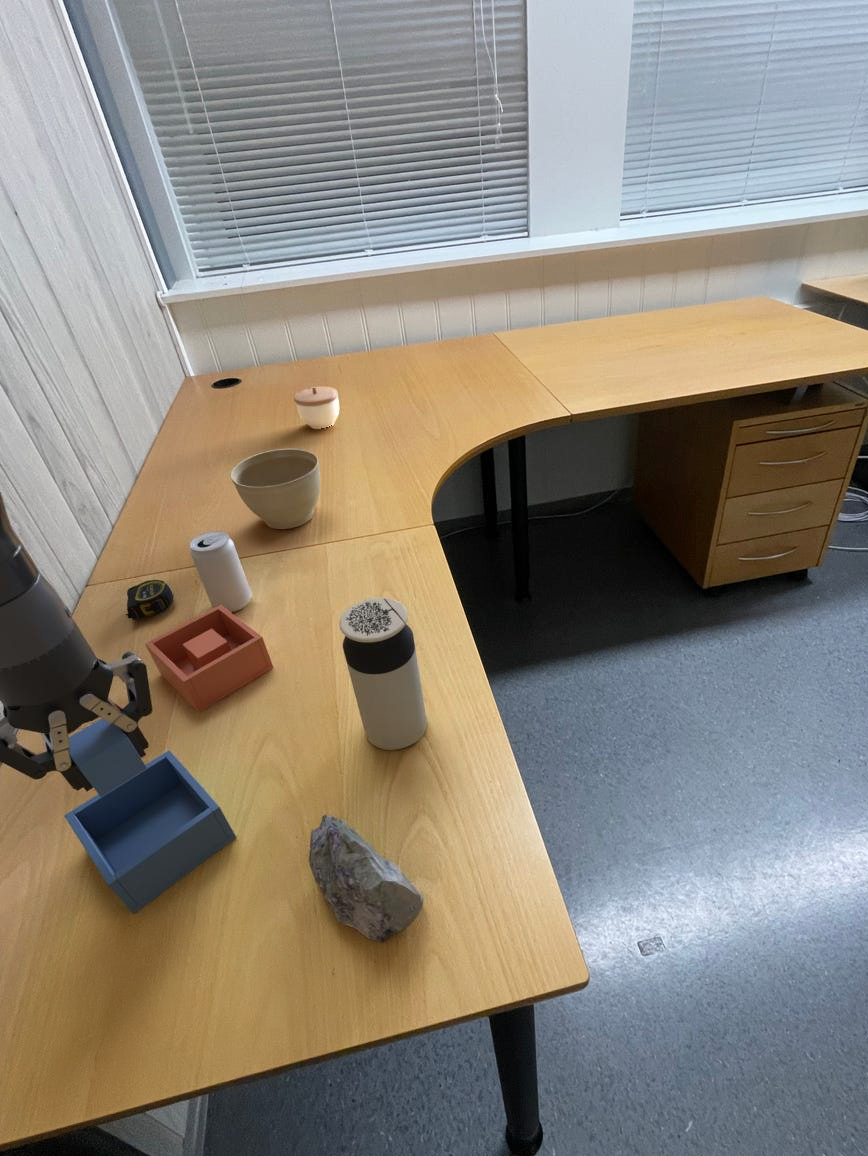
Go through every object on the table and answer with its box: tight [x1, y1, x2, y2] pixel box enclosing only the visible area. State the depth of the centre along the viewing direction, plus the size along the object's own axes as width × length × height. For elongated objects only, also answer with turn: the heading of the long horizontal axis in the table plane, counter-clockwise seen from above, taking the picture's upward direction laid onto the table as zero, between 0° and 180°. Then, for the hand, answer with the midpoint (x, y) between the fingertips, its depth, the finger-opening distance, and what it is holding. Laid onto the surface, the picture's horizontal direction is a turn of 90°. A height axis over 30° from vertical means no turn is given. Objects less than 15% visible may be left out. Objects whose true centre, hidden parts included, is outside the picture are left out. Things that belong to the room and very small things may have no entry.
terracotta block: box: [182, 629, 231, 670], centre depth 88 cm, size 4×4×4 cm
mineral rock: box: [308, 814, 424, 943], centre depth 60 cm, size 13×11×10 cm
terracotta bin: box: [144, 605, 274, 713], centre depth 88 cm, size 12×12×6 cm
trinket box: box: [293, 386, 340, 430], centre depth 156 cm, size 11×11×9 cm
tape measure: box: [125, 579, 175, 621], centre depth 101 cm, size 7×7×4 cm
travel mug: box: [338, 597, 428, 751], centre depth 74 cm, size 8×8×18 cm
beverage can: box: [189, 531, 253, 613], centre depth 98 cm, size 6×6×12 cm
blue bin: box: [63, 749, 237, 915], centre depth 67 cm, size 12×12×6 cm
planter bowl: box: [230, 448, 321, 530], centre depth 119 cm, size 16×16×11 cm
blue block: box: [68, 717, 147, 797], centre depth 59 cm, size 4×4×4 cm
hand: (113, 768), depth 60 cm, fingers closed on blue block, 4 cm apart
